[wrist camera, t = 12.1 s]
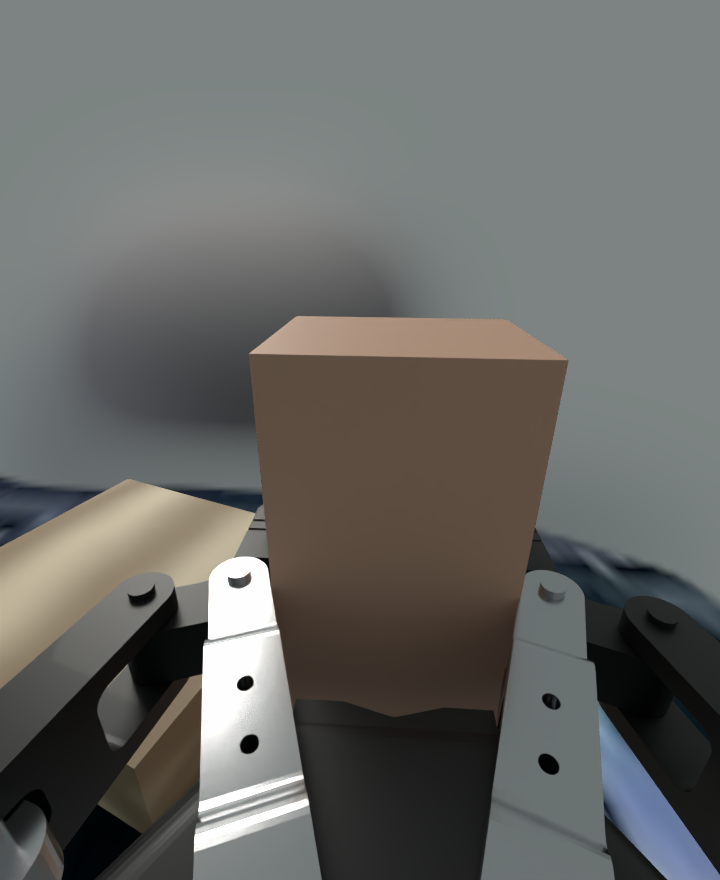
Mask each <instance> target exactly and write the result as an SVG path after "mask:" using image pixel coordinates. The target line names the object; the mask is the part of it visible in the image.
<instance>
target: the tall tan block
mask: <svg viewBox="0 0 720 880" xmlns="http://www.w3.org/2000/svg"><path fill="white" fill-rule="evenodd" d="M249 359H250V369H251V380H252V390H253V400H254V410H255V421H256V431H257V442H258V452H259V462H260V473H261V483H262V494H263V504H264V514H265V525H266V535H267V545H268V556H269V566H270V577H271V587H272V597H273V604H274V610H275V617H276V623H277V624H278V627H279V632H280V638H281V644H282V650H283V656H284V662H285V668H286V675H287V681H288V687H289V693H290V699H291V705H292V711H293V710H294V705H295V700H296V698H298V699H314V700H331V701H344V702H347V703H350V704H354V705H357V706H360V707H363V708H366V709H369V710H372V711H375V712H378V713H381V714H384V715H388V716H392V717H398V716H404V715H409V714H414V713H419V712H424V711H429V710H434V709H439V708H444V707H446V708H462V709H479V710H494V715H495V719H496V718H497V711H498V705H499V698H500V692H501V686H502V680H503V675H504V670H505V668H507V664H508V659H509V654H510V648H511V641H512V634H513V627H514V621H515V614H516V609H517V604H518V599H521V594H522V589H523V584H524V579H525V574H526V569H527V565H528V560H529V555H530V550H531V545H532V540H533V535H534V530H535V525H536V519H537V515H538V509H539V505H540V499H541V495H542V490H543V484H544V480H545V475H546V470H547V465H548V460H549V455H550V450H551V445H552V440H553V435H554V430H555V425H556V420H557V415H558V410H559V405H560V399H561V395H562V390H563V385H564V380H565V375H566V370H567V365H568V360H567V359H566V358H564V357H562V356H561V355H560V354H558V353H557V352H555V351H554V350H552V349H550V348H549V347H547V346H546V345H544V344H543V343H541V342H540V341H538V340H537V339H535V338H533V337H532V336H530V335H529V334H527V333H526V332H524V331H523V330H521V329H520V328H518V327H517V326H515V325H514V324H512V323H511V322H509V321H507V320H506V319H442V318H441V319H439V318H380V317H378V318H377V317H376V318H375V317H316V316H311V317H310V316H296V317H295V318H294V319H293V320H291V321H290V322H289V323H288V324H286V325H285V326H284V327H283V328H281V329H280V330H279V331H277V332H276V333H275V334H273V335H272V336H271V337H270V338H268V339H267V340H266V341H265V342H263V343H262V344H261V345H260V346H258V347H257V348H256V349H254V350H253V351H252V352H251V353H249Z"/></svg>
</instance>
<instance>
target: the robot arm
mask: <svg viewBox="0 0 720 880" xmlns="http://www.w3.org/2000/svg"><path fill="white" fill-rule="evenodd" d="M127 664H128V665H127ZM126 665H127V666H126ZM121 671H122V672H121ZM120 672H121V673H120ZM119 673H120V674H119ZM118 674H119V675H118ZM201 674H203V688H202V724H201V759H200V779H199V780H198V781H197V782H196V783H195V784H194V785H193V786H192V787H191V788H190V789H189V790H188V791H187V792H185V793H184V794H183V795H182V796H181V797H180V798H179V799H178V800H177V801H176V802H175V803H174V804H173V805H172V806H171V807H170V808H169V809H168V810H167V811H166V812H165V813H164V814H163V815H161V816H160V817H159V818H158V819H157V820H156V821H155V822H154V823H153V824H152V825H151V826H150V827H149V828H148V829H147V830H146V831H145V832H144V833H143V834H142V835H141V836H140V837H139V838H137V839H136V840H135V841H134V842H133V843H132V844H131V845H130V846H129V847H128V848H127V849H126V850H125V851H124V852H123V853H122V854H121V855H120V856H119V857H118V858H117V859H116V860H115V861H113V862H112V863H111V864H110V865H109V866H108V867H107V868H106V869H105V870H104V871H103V872H102V873H101V874H100V875H99V876H98V877H97V878H96V879H95V880H667V879H666V878H665V877H664V876H663V875H662V874H661V873H660V872H659V871H658V870H657V869H656V868H655V867H654V866H653V865H652V864H651V862H650V861H649V860H648V859H647V858H646V857H645V856H644V855H643V854H642V853H641V852H640V851H639V850H638V849H637V848H636V847H635V846H634V845H633V844H632V843H631V842H630V841H629V840H628V839H627V838H626V837H625V835H624V834H623V833H622V832H621V831H620V830H619V829H618V828H617V827H616V826H615V825H614V824H613V823H612V822H611V821H610V820H609V819H608V818H607V817H606V816H605V815H604V805H603V788H602V771H601V754H600V737H599V720H598V704H597V701H599V704H600V706H601V707H602V709H603V710H604V712H605V713H606V715H607V716H608V717H609V719H610V720H611V722H612V723H613V724H614V726H615V727H616V729H617V730H618V732H619V733H620V734H621V736H622V737H623V739H624V740H625V741H626V743H627V744H628V746H629V747H630V748H631V750H632V751H633V753H634V754H635V756H636V757H637V758H638V760H639V761H640V763H641V764H642V765H643V767H644V768H645V770H646V771H647V773H648V774H649V775H650V777H651V778H652V780H653V781H654V782H655V784H656V785H657V787H658V788H659V789H660V791H661V792H662V794H663V795H664V797H665V798H666V799H667V801H668V802H669V804H670V805H671V806H672V808H673V809H674V811H675V812H676V813H677V815H678V816H679V818H680V819H681V821H682V822H683V823H684V825H685V826H686V828H687V829H688V830H689V832H690V833H691V835H692V836H693V837H694V839H695V840H696V842H697V843H698V845H699V846H700V847H701V849H702V850H703V852H704V853H705V854H706V856H707V857H708V859H709V860H710V862H711V863H712V864H713V866H714V867H715V869H716V870H717V871H718V873H719V874H720V643H719V642H718V641H717V640H716V639H715V638H714V637H712V636H711V635H710V634H709V633H708V632H707V631H706V630H705V629H704V628H702V627H701V626H700V625H699V624H698V623H697V622H696V621H695V620H693V619H692V618H691V617H690V616H689V615H688V614H687V613H685V612H684V611H683V610H681V609H680V608H678V607H677V606H675V605H673V604H671V603H669V602H667V601H664V600H661V599H658V598H654V597H649V596H636V597H632V598H630V599H629V600H628V601H627V602H626V603H625V606H624V609H623V610H622V609H619V608H615V607H611V606H607V605H604V604H600V603H597V602H594V601H591V600H588V599H586V598H584V594H583V592H582V590H581V589H580V587H579V586H578V585H577V584H576V583H575V582H573V581H572V580H571V579H569V578H568V577H566V576H564V575H561V574H559V573H558V571H557V570H556V568H555V566H554V564H553V562H552V560H551V558H550V556H549V554H548V552H547V550H546V548H545V546H544V544H543V543H542V542H541V538H540V536H539V534H538V533H537V530H536V528H535V530H534V535H533V540H532V545H531V550H530V555H529V560H528V565H527V569H526V574H525V579H524V584H523V589H522V594H521V599H518V604H517V609H516V614H515V621H514V627H513V634H512V641H511V648H510V654H509V659H508V664H507V668H505V670H504V675H503V680H502V686H501V692H500V698H499V705H498V711H497V718H496V719H495V715H494V710H479V709H462V708H446V707H444V708H439V709H434V710H429V711H424V712H419V713H414V714H409V715H404V716H398V717H392V716H388V715H384V714H381V713H378V712H375V711H372V710H369V709H366V708H363V707H360V706H357V705H354V704H350V703H347V702H344V701H331V700H314V699H298V698H296V700H295V705H294V710H293V711H292V705H291V699H290V693H289V687H288V681H287V675H286V668H285V662H284V656H283V650H282V644H281V638H280V632H279V627H278V624H277V623H276V617H275V610H274V604H273V597H272V587H271V577H270V566H269V556H268V545H267V535H266V525H265V514H264V504H263V505H262V506H260V507H259V508H258V510H257V512H256V514H255V516H254V518H253V521H252V522H251V524H250V526H249V530H247V532H246V534H245V536H244V538H243V540H242V542H241V544H240V546H239V548H238V550H237V552H236V554H235V556H234V559H231V560H228V561H226V562H224V563H222V564H220V565H219V566H218V567H217V568H216V569H215V570H214V571H213V572H212V574H211V576H210V580H207V581H204V582H201V583H196V584H191V585H185V586H180V587H175V586H174V581H173V579H172V578H171V577H170V576H169V575H167V574H164V573H160V572H148V573H143V574H139V575H136V576H134V577H131V578H129V579H127V580H126V581H124V582H122V583H121V584H120V585H119V586H117V587H116V588H115V589H114V590H113V591H112V592H110V593H109V594H108V595H107V596H106V597H105V598H104V599H102V600H101V601H100V602H99V603H98V604H97V605H96V606H94V607H93V608H92V609H91V610H90V611H89V612H88V613H86V614H85V615H84V616H83V617H82V618H81V619H80V620H78V621H77V622H76V623H75V624H74V625H73V626H72V627H70V628H69V629H68V630H67V631H66V632H65V633H64V634H62V635H61V636H60V637H59V638H58V639H57V640H56V641H54V642H53V643H52V644H51V645H50V646H49V647H48V648H46V649H45V650H44V651H43V652H42V653H41V654H40V655H38V656H37V657H36V658H35V659H34V660H33V661H32V662H30V663H29V664H28V665H27V666H26V667H25V668H24V669H22V670H21V671H20V672H19V673H18V674H17V675H16V676H14V677H13V678H12V679H11V680H10V681H9V682H8V683H6V684H5V685H4V686H3V687H2V688H1V689H0V880H61V878H62V874H63V869H64V856H63V852H62V851H63V850H64V849H65V847H66V846H67V845H68V843H69V842H70V841H71V839H72V838H73V836H74V835H75V834H76V832H77V831H78V830H79V828H80V827H81V826H82V824H83V823H84V821H85V820H86V819H87V817H88V816H89V815H90V813H91V812H92V811H93V809H94V808H95V807H96V805H97V804H98V802H99V801H100V800H101V798H102V797H103V796H104V794H105V793H106V792H107V790H108V789H109V787H110V786H111V785H112V783H113V782H114V781H115V779H116V778H117V777H118V775H119V774H120V772H121V771H122V770H123V768H124V767H125V766H126V764H127V763H128V762H129V760H130V759H131V758H132V756H133V755H134V753H135V752H136V751H137V749H138V748H139V747H140V745H141V744H142V743H143V741H144V740H145V738H146V737H147V736H148V734H149V733H150V732H151V730H152V729H153V728H154V726H155V725H156V723H157V722H158V721H159V719H160V718H161V717H162V715H163V714H164V713H165V711H166V710H167V709H168V707H169V706H170V704H171V703H172V702H173V700H174V699H175V698H176V696H177V695H178V694H179V692H180V691H181V689H182V688H183V687H184V685H185V684H186V683H187V681H188V679H189V677H192V676H197V675H201ZM117 675H118V676H117ZM116 676H117V677H116ZM111 682H112V683H111ZM110 683H111V684H110ZM109 684H110V685H109ZM108 685H109V686H108ZM674 695H675V696H676V697H677V698H678V700H679V701H680V702H681V703H682V704H683V705H684V706H685V707H686V709H687V710H688V711H689V712H690V713H691V714H692V715H693V716H694V718H695V719H696V720H697V721H698V722H699V723H700V725H701V726H702V727H703V729H704V730H705V732H706V734H707V736H708V738H709V740H710V743H711V744H710V743H709V742H708V740H707V739H706V738H705V737H704V736H703V735H702V734H701V732H700V731H699V730H698V729H697V728H696V727H695V726H694V724H693V723H692V722H691V721H690V720H689V719H688V718H687V716H686V715H685V714H684V713H683V712H682V711H681V710H680V708H679V707H678V706H677V705H676V704H675V703H674V702H673V697H674Z"/></svg>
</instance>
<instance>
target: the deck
mask: <svg viewBox="0 0 720 880" xmlns="http://www.w3.org/2000/svg"><path fill="white" fill-rule="evenodd" d="M254 516H255V513H251V512H247V511H244V510H240V509H236V508H233V507H229V506H226V505H222V504H218V503H215V502H211V501H207V500H204V499H200V498H196V497H193V496H189V495H185V494H182V493H178V492H174V491H171V490H167V489H163V488H160V487H156V486H152V485H149V484H145V483H141V482H137V481H134V480H130V479H127V480H125V481H123V482H122V483H120V484H118V485H116V486H114V487H112V488H110V489H108V490H107V491H105V492H103V493H101V494H99V495H97V496H95V497H93V498H92V499H90V500H88V501H86V502H84V503H82V504H80V505H78V506H77V507H75V508H73V509H71V510H69V511H67V512H65V513H64V514H62V515H60V516H58V517H56V518H54V519H52V520H50V521H49V522H47V523H45V524H43V525H41V526H39V527H37V528H35V529H34V530H32V531H30V532H28V533H26V534H24V535H22V536H21V537H19V538H17V539H15V540H13V541H11V542H9V543H7V544H6V545H4V546H2V547H0V689H1V688H2V687H3V686H4V685H5V684H6V683H8V682H9V681H10V680H11V679H12V678H13V677H14V676H16V675H17V674H18V673H19V672H20V671H21V670H22V669H24V668H25V667H26V666H27V665H28V664H29V663H30V662H32V661H33V660H34V659H35V658H36V657H37V656H38V655H40V654H41V653H42V652H43V651H44V650H45V649H46V648H48V647H49V646H50V645H51V644H52V643H53V642H54V641H56V640H57V639H58V638H59V637H60V636H61V635H62V634H64V633H65V632H66V631H67V630H68V629H69V628H70V627H72V626H73V625H74V624H75V623H76V622H77V621H78V620H80V619H81V618H82V617H83V616H84V615H85V614H86V613H88V612H89V611H90V610H91V609H92V608H93V607H94V606H96V605H97V604H98V603H99V602H100V601H101V600H102V599H104V598H105V597H106V596H107V595H108V594H109V593H110V592H112V591H113V590H114V589H115V588H116V587H117V586H119V585H120V584H121V583H122V582H124V581H126V580H127V579H129V578H131V577H134V576H136V575H139V574H143V573H148V572H160V573H164V574H167V575H169V576H170V577H171V578H172V579H173V581H174V586H175V587H180V586H185V585H191V584H196V583H201V582H204V581H207V580H210V576H211V574H212V572H213V571H214V570H215V569H216V568H217V567H218V566H219V565H220V564H222V563H224V562H226V561H228V560H231V559H234V556H235V554H236V552H237V550H238V548H239V546H240V544H241V542H242V540H243V538H244V536H245V534H246V532H247V530H249V526H250V524H251V522H252V521H253V518H254ZM127 665H128V664H127ZM127 665H126V666H127ZM121 672H122V671H121ZM121 672H120V673H121ZM120 673H119V674H120ZM119 674H118V675H119ZM118 675H117V676H118ZM117 676H116V677H117ZM111 683H112V682H111ZM111 683H110V684H111ZM110 684H109V685H110ZM109 685H108V686H109ZM202 688H203V674H201V675H197V676H192V677H189V679H188V681H187V683H186V684H185V685H184V687H183V688H182V689H181V691H180V692H179V694H178V695H177V696H176V698H175V699H174V700H173V702H172V703H171V704H170V706H169V707H168V709H167V710H166V711H165V713H164V714H163V715H162V717H161V718H160V719H159V721H158V722H157V723H156V725H155V726H154V728H153V729H152V730H151V732H150V733H149V734H148V736H147V737H146V738H145V740H144V741H143V743H142V744H141V745H140V747H139V748H138V749H137V751H136V752H135V753H134V755H133V756H132V758H131V759H130V760H129V762H128V763H127V764H126V766H125V767H124V768H123V770H122V771H121V772H120V774H119V775H118V777H117V778H116V779H115V781H114V782H113V783H112V785H111V786H110V787H109V789H108V790H107V792H106V793H105V794H104V796H103V797H102V798H101V800H100V801H99V802H98V805H99V806H101V807H102V808H104V809H106V810H107V811H109V812H110V813H112V814H113V815H115V816H116V817H118V818H119V819H121V820H122V821H124V822H125V823H127V824H128V825H130V826H131V827H133V828H134V829H136V830H137V831H139V832H140V833H142V834H143V833H144V832H145V831H146V830H147V829H148V828H149V827H150V826H151V825H152V824H153V823H154V822H155V821H156V820H157V819H158V818H159V817H160V816H161V815H163V814H164V813H165V812H166V811H167V810H168V809H169V808H170V807H171V806H172V805H173V804H174V803H175V802H176V801H177V800H178V799H179V798H180V797H181V796H182V795H183V794H184V793H185V792H187V791H188V790H189V789H190V788H191V787H192V786H193V785H194V784H195V783H196V782H197V781H198V780H199V779H200V759H201V724H202Z"/></svg>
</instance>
